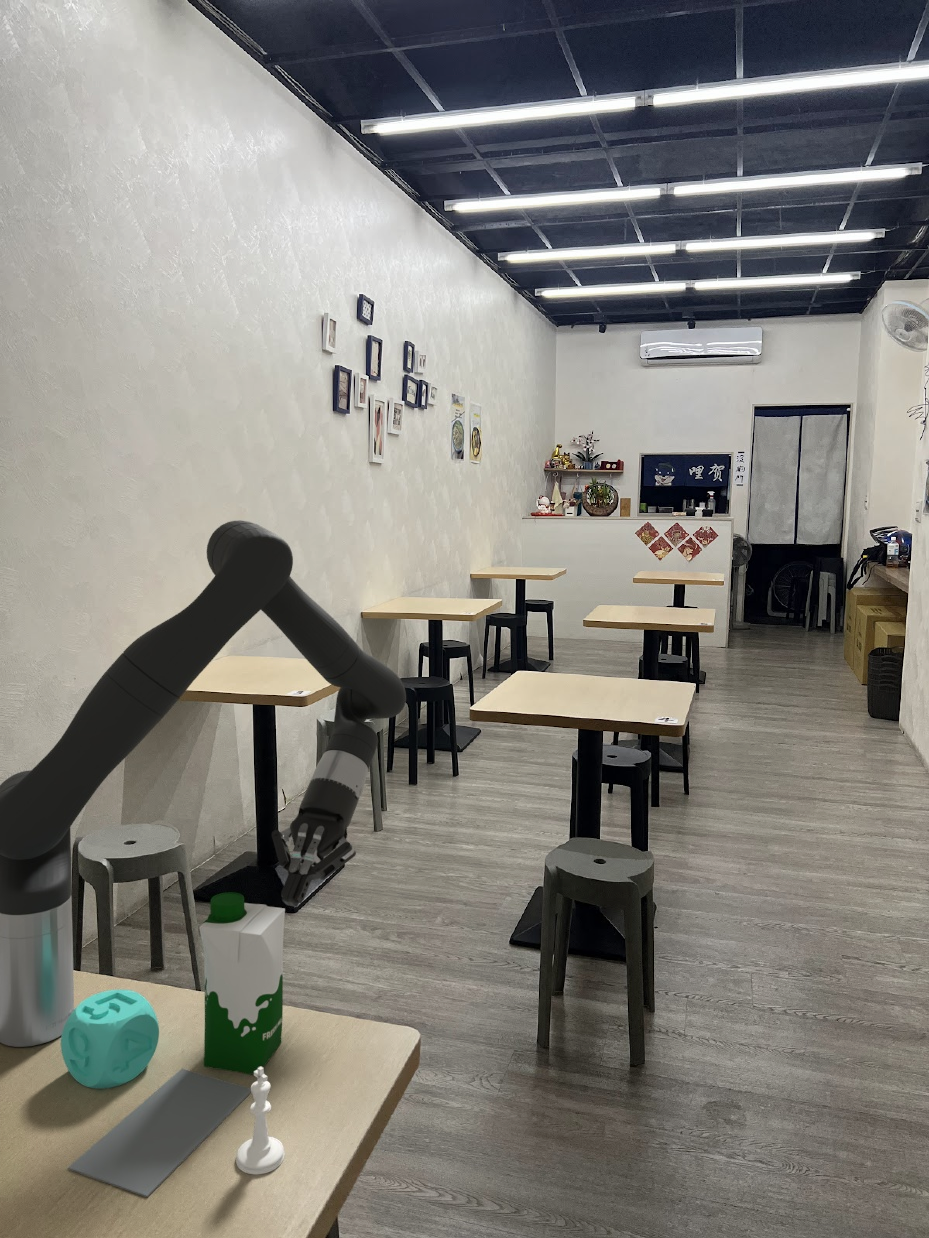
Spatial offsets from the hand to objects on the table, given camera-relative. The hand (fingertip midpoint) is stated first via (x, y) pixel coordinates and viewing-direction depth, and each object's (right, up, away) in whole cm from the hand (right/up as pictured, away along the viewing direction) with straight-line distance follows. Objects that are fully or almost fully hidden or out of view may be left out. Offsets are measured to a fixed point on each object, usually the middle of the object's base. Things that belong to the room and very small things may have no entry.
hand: (289, 903), depth 120 cm
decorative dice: (-19, -16, -12) cm, 28 cm away
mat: (-9, -18, -22) cm, 29 cm away
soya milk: (-4, -16, -8) cm, 19 cm away
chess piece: (+2, -19, -26) cm, 32 cm away
